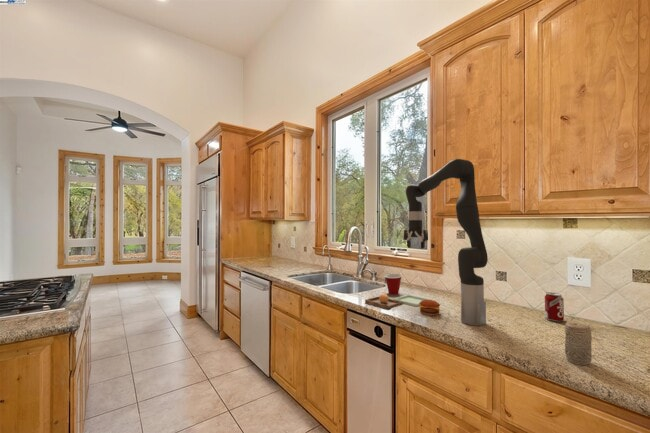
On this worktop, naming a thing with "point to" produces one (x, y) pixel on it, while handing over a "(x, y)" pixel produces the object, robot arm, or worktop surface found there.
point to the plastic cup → (393, 283)
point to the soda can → (554, 307)
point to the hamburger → (429, 307)
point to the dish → (411, 300)
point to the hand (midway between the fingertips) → (415, 248)
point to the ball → (383, 298)
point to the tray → (387, 305)
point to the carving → (578, 343)
